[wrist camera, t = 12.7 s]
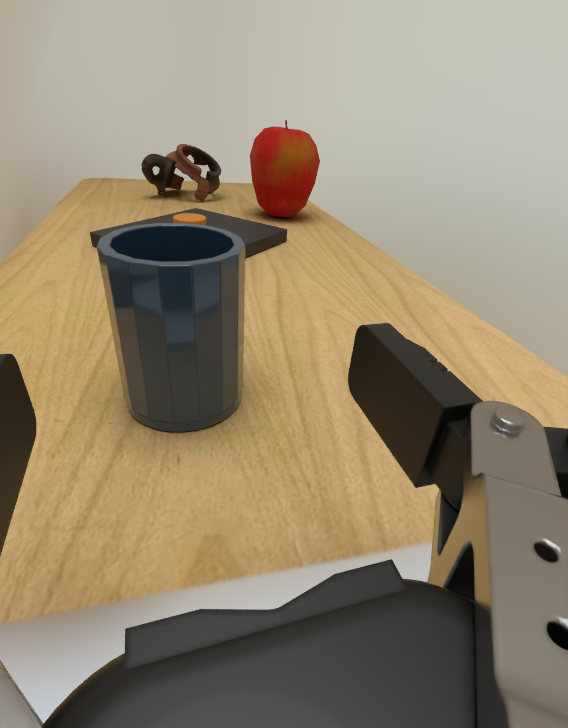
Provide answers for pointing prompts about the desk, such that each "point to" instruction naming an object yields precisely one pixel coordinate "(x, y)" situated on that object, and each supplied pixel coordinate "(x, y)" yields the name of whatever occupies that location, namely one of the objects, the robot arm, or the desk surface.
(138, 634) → the robot arm
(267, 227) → the scale
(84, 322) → the desk surface
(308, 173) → the apple
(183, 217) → the button
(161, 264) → the cup
